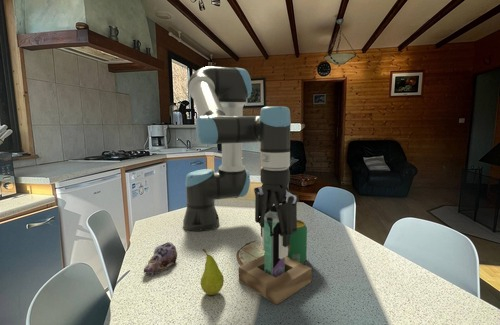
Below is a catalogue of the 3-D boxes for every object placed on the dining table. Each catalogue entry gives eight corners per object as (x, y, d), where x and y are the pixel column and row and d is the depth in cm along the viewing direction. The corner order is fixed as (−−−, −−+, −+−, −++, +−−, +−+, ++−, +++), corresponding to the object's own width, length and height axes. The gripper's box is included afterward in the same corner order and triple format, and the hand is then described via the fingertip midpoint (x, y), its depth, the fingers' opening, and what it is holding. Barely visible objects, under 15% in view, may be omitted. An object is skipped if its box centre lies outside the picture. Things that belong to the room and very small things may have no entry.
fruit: (227, 295, 68) (226, 250, 67) (206, 303, 65) (204, 256, 64) (217, 284, 73) (216, 241, 71) (197, 291, 70) (195, 247, 68)
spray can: (283, 283, 71) (284, 209, 68) (262, 281, 72) (262, 208, 69) (285, 272, 76) (285, 203, 73) (265, 270, 77) (265, 202, 74)
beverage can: (276, 256, 88) (276, 221, 86) (297, 251, 91) (297, 217, 89) (289, 268, 81) (289, 230, 79) (311, 262, 84) (312, 225, 82)
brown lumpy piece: (152, 280, 75) (151, 259, 74) (134, 273, 79) (132, 253, 78) (182, 261, 86) (181, 242, 85) (165, 255, 89) (163, 238, 89)
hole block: (238, 280, 75) (238, 266, 74) (273, 262, 84) (273, 250, 83) (276, 305, 64) (276, 289, 64) (311, 281, 74) (311, 268, 73)
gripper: (240, 165, 74) (242, 245, 77) (294, 174, 60) (292, 271, 64) (260, 162, 79) (260, 238, 82) (313, 170, 65) (311, 260, 69)
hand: (274, 252), depth 73 cm, fingers closed on spray can, 5 cm apart
